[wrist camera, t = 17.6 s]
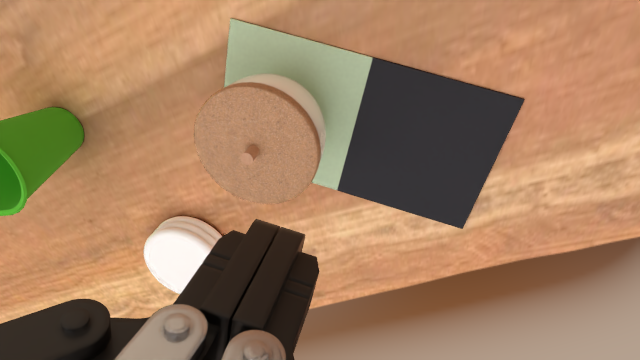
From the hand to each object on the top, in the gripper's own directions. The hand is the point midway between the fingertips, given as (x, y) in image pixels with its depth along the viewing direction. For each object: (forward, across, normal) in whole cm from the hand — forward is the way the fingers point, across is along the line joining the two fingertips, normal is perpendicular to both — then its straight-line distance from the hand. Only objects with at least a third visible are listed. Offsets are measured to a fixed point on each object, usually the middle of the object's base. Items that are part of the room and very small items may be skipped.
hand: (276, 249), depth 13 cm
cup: (+29, +32, +19) cm, 47 cm away
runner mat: (+29, 0, +9) cm, 30 cm away
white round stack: (+29, +15, +31) cm, 45 cm away
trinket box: (+29, +7, +10) cm, 32 cm away
